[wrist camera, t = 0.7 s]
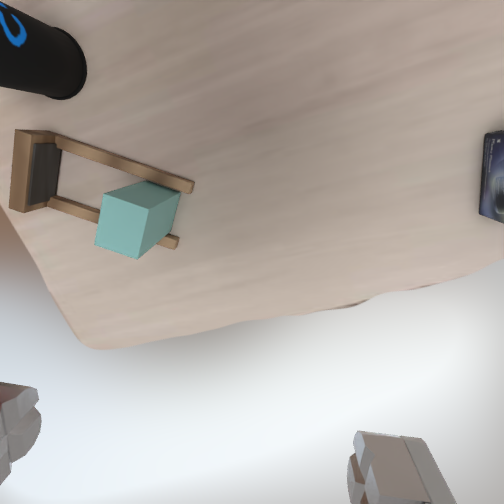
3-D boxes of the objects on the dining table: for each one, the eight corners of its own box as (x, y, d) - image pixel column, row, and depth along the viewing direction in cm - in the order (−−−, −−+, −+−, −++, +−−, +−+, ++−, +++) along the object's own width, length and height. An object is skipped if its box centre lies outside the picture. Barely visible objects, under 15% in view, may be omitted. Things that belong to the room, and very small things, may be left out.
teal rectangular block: (180, 192, 46) (149, 209, 35) (170, 231, 48) (137, 259, 36) (146, 180, 46) (103, 193, 34) (137, 219, 48) (94, 244, 36)
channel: (194, 182, 45) (182, 188, 40) (177, 246, 49) (163, 260, 43) (48, 130, 44) (15, 129, 39) (40, 199, 48) (8, 207, 42)
